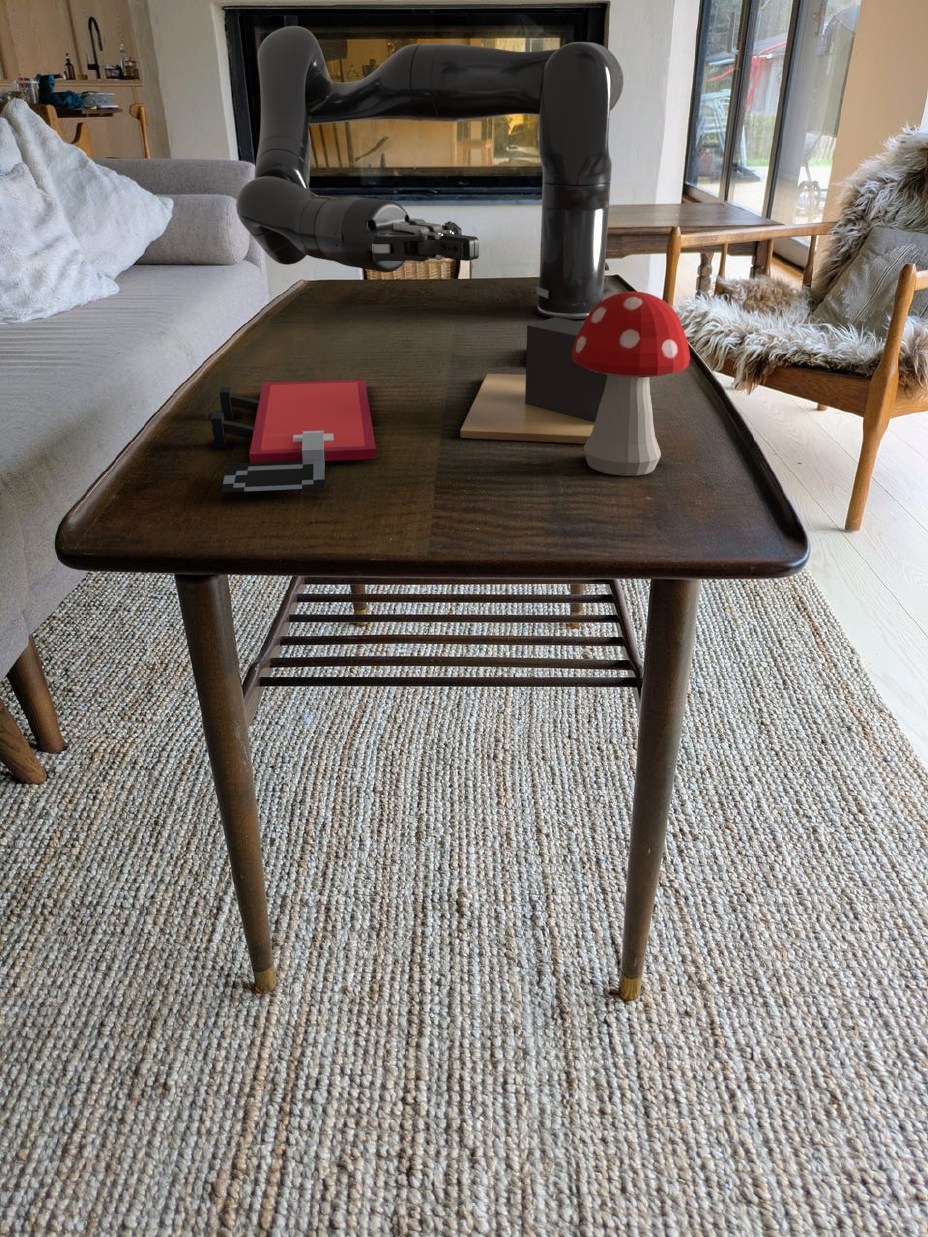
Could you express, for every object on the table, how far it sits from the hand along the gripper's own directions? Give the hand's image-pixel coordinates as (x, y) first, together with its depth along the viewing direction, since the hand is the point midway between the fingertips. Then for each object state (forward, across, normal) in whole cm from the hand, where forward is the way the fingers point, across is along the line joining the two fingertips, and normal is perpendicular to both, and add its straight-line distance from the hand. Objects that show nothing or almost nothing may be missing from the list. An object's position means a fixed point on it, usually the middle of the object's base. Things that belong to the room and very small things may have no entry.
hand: (473, 249), depth 94 cm
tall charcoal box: (+9, 0, -10) cm, 14 cm away
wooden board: (+12, 0, -15) cm, 19 cm away
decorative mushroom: (+26, +8, -15) cm, 31 cm away
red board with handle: (-2, +24, -15) cm, 28 cm away
